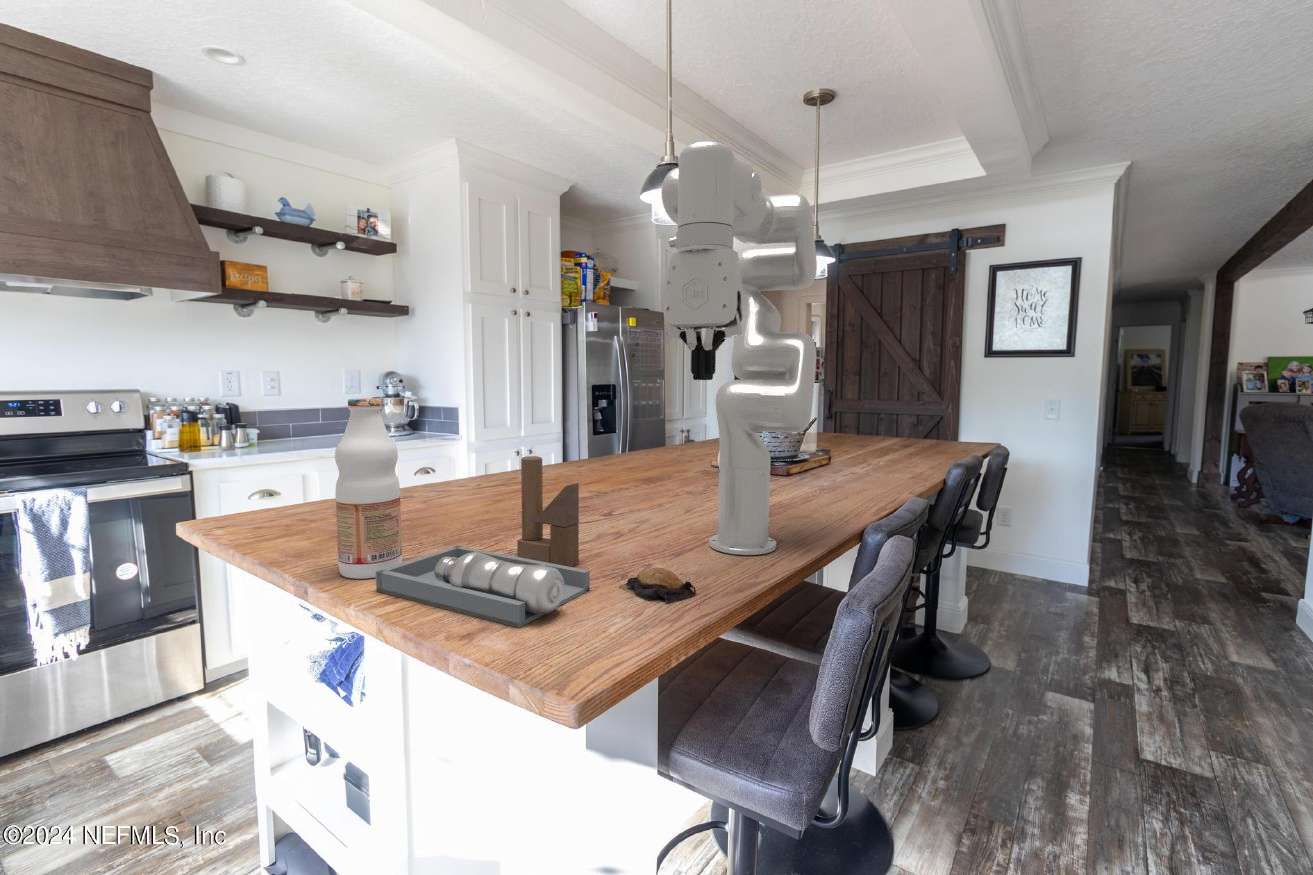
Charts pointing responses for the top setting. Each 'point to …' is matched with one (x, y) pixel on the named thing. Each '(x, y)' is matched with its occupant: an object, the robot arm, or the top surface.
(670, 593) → the bread roll
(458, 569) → the plastic bottle
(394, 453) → the fruit juice
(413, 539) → the top surface
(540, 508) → the toy block structure
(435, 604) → the tray
